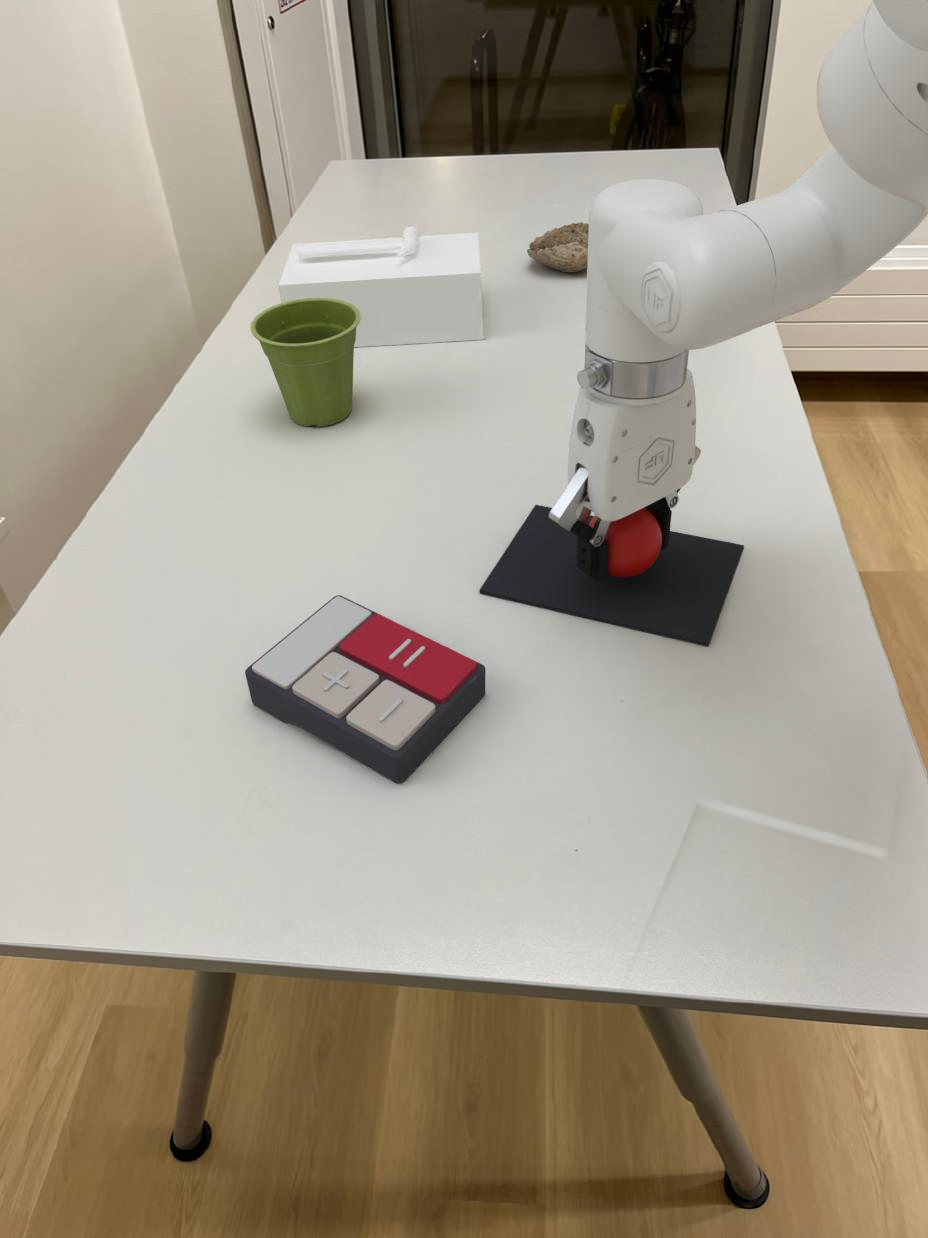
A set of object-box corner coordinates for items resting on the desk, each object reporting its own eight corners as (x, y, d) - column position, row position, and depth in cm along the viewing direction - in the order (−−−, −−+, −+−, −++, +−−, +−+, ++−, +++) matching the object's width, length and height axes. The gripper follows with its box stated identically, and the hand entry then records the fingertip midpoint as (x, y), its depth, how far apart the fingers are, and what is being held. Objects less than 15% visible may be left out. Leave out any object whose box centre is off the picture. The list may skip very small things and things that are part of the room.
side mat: (743, 548, 86) (744, 544, 86) (708, 646, 76) (708, 643, 76) (535, 507, 93) (535, 504, 92) (479, 593, 83) (479, 589, 83)
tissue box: (483, 339, 122) (479, 253, 115) (290, 350, 123) (274, 266, 116) (480, 295, 133) (477, 214, 126) (303, 306, 134) (289, 226, 127)
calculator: (397, 752, 65) (239, 664, 71) (401, 791, 68) (249, 703, 74) (488, 659, 71) (336, 585, 78) (487, 698, 74) (341, 624, 81)
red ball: (667, 556, 84) (673, 495, 80) (647, 599, 80) (653, 537, 75) (597, 542, 86) (600, 481, 82) (574, 583, 82) (576, 522, 78)
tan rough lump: (540, 274, 145) (510, 267, 137) (545, 224, 143) (515, 214, 135) (609, 277, 140) (582, 270, 132) (614, 225, 138) (588, 215, 130)
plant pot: (249, 427, 108) (227, 333, 101) (308, 382, 116) (292, 291, 108) (335, 448, 103) (319, 350, 96) (391, 399, 111) (381, 306, 104)
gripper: (581, 421, 64) (575, 622, 76) (754, 345, 72) (725, 538, 83) (512, 383, 69) (516, 577, 81) (681, 315, 76) (663, 502, 88)
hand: (622, 556), depth 82 cm, fingers closed on red ball, 6 cm apart
